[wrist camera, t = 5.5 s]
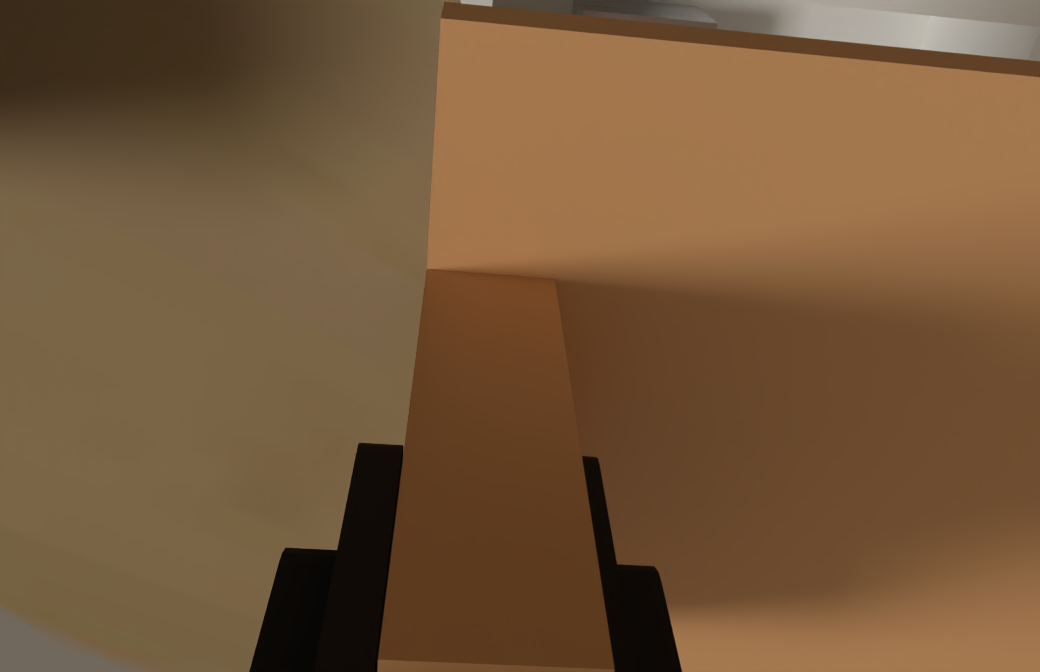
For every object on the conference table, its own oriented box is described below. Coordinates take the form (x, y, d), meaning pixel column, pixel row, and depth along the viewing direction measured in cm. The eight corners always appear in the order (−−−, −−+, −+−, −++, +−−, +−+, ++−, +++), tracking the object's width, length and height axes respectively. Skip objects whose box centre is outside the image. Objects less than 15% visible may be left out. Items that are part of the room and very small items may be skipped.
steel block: (574, -7, 29) (583, 10, 26) (697, 6, 29) (717, 23, 27) (559, 117, 31) (565, 144, 28) (674, 128, 31) (691, 155, 29)
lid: (447, -16, 12) (392, 248, 5) (1568, 98, 13) (2887, 442, 6) (409, 637, 18) (358, 1195, 10) (1180, 671, 19) (1602, 1188, 12)
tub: (469, -89, 28) (465, -67, 22) (958, -37, 30) (1081, -2, 24) (446, 260, 34) (437, 353, 28) (856, 291, 35) (933, 388, 29)
